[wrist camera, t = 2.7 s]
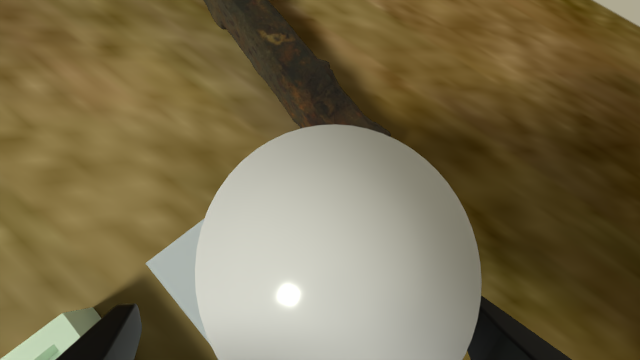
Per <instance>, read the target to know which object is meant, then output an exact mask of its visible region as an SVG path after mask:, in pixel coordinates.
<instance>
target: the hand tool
mask: <svg viewBox="0 0 640 360" xmlns="http://www.w3.org/2000/svg"><path fill="white" fill-rule="evenodd" d="M204 2H205V3H206V5H207V7H208V9H209V11H210V13H211V15H212V17H213V19H214V21H215V22H216V23H217V24H218V26H219V27H220V28H222V29H227V30H228V32H229V33H230V34H231V35H232V37H233V38H234V39H235V41H236V42H237V44H238V45H239V47H240V48H241V49H242V51H243V52H244V53H245V55H246V56H247V57H248V58H249V60H250V61H251V63H252V65H253V67H254V68H255V70H256V71H257V72H258V74H259V75H260V76H261V77H262V78H263V79H264V80H265V81H266V82H267V84H268V85H269V86H270V88H271V89H272V91H273V92H274V93H275V94H276V96H277V97H278V99H279V101H280V102H281V103H282V105H283V106H284V107H285V109H286V110H287V112H288V113H289V115H290V116H291V118H292V119H293V121H294V122H295V123H297V124H298V125H299V126H300V128H306V127H312V126H317V125H334V124H337V125H350V126H356V127H361V128H366V129H370V130H373V131H376V132H379V133H382V134H385V135H387V136H389V137H390V136H391V134H390V132H389V131H388V130H386V129H384V128H383V127H382V126H381V125H379V124H377V123H376V122H372V121H371V120H370V119H369V118H367V117H366V116H365V115H364V114H363V113H362V112H361V111H360V110H359V108H358V107H357V105H356V104H355V103H354V102H353V101H352V100H351V99H350V97H349V96H348V95H347V94H346V93H345V92H344V91H343V90H342V88H341V87H340V86H339V84H338V82H337V80H336V78H335V76H334V74H333V71H332V70H331V69H330V64H329V62H327V61H324V60H320V59H318V58H317V57H316V56H315V55H314V54H313V52H312V51H311V50H310V49H309V48H308V47H307V46H306V44H305V43H304V42H303V41H302V40H301V39H300V37H299V36H298V35H297V34H296V32H295V31H294V30H293V29H292V27H291V26H290V25H289V24H288V23H287V22H286V20H285V19H284V18H283V17H282V15H281V14H280V13H279V12H278V11H277V10H276V9H275V8H274V6H273V5H272V4H271V3H270V2H269V1H268V0H204Z"/></svg>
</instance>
